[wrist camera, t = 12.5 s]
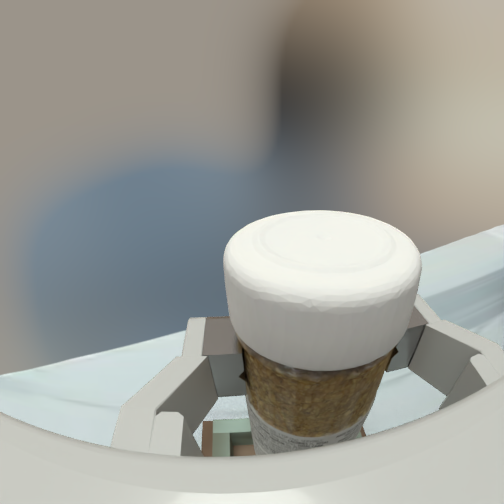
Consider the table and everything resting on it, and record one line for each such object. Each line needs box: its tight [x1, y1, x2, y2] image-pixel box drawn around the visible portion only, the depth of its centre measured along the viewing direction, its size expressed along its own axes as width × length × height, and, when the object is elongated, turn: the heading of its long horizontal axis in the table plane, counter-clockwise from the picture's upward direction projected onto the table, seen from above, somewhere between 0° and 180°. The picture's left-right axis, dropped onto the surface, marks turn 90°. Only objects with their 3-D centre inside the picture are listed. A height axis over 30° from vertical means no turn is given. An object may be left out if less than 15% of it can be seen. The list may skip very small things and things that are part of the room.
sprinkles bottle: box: [223, 210, 422, 455], centre depth 9 cm, size 5×5×13 cm
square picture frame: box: [201, 418, 366, 457], centre depth 14 cm, size 13×13×4 cm
